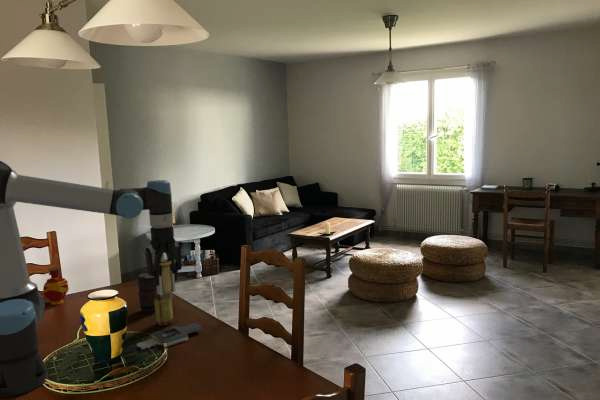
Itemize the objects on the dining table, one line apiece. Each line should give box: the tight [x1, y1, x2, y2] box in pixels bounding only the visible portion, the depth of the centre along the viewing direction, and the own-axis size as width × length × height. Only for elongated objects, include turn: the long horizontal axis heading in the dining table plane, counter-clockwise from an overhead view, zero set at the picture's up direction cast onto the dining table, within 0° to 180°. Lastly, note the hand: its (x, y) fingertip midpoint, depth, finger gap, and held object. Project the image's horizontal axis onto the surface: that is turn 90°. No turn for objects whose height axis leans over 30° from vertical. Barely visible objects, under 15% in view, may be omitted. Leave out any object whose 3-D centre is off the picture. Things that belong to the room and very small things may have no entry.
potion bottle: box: [42, 267, 70, 306], centre depth 202 cm, size 10×10×15 cm
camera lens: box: [137, 272, 156, 314], centre depth 190 cm, size 8×8×15 cm
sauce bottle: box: [154, 286, 174, 327], centre depth 176 cm, size 6×6×20 cm
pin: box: [159, 258, 174, 299], centre depth 160 cm, size 5×5×13 cm
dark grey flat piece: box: [136, 322, 203, 350], centre depth 163 cm, size 22×9×2 cm, turn 130°
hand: (166, 292), depth 161 cm, fingers closed on pin, 4 cm apart
